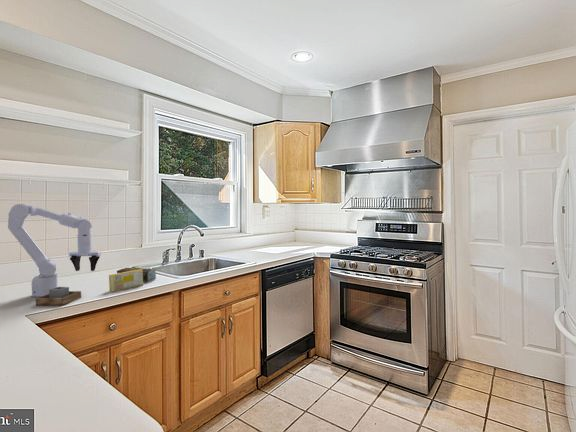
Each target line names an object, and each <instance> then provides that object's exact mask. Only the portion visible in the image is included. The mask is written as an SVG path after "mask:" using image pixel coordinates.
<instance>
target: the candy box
mask: <svg viewBox="0 0 576 432" xmlns="http://www.w3.org/2000/svg"><path fill="white" fill-rule="evenodd" d="M142 269H143V268H142ZM142 269H140V270H134V271H128V272H123V273H117V272H116V273H111V274H108V284H109V287H108V288H109V292H115V291H120V290H127V289H131V288H135V287H139V286H143V285H144V282H143V270H142Z"/></svg>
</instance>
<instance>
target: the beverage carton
mask: <svg viewBox="0 0 576 432" xmlns="http://www.w3.org/2000/svg"><path fill="white" fill-rule="evenodd" d="M140 269H142V270H143V283H149V282H152V281H155V280H156V277H157V275H156V273H157V270H156V269H155V268H139V267H124V268H121V269H118V270H116V274H117V273H123V272H128V271H134V270H140Z"/></svg>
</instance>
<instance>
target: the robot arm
mask: <svg viewBox="0 0 576 432" xmlns="http://www.w3.org/2000/svg"><path fill="white" fill-rule="evenodd" d="M29 216H30V217H35V216H39V217H43V218H47V219H51V220H54V221H57V222H58V223H59V225H60V226H61V225H62V226H65V227H67V228H71V229H77V235H76V236H77V251H70V252H69V253H68V257H69V260H70V261H71V264H73V267H74V270H75V272H78V271H80V270H81V269H80V268H81V257H88V259H89V264H90V271H91V272H94V271H95V270H96V267H97V264H98V261H99V260H100V256H101V251H92V234H91V232H92V231H91V229H92V227H93V225H92V223H91V222H90V221H89V220H87V218H86V219H85V218H83V217H81V216H76V215H72V213H71V212H68V213H66V212H64V213H62V214H59V213H56V212H54V211H50V210H48V209H45V208H43V207H39V206H32V205H27V204H24V203H17V204H15V205H13V206H12V207H11V208H10V210H9V213H8V220H7V221H8V222H7V229H8V231H10V233H11V234H12V235H13V236H14V238H15V239H16V240H17V242H19V244H20V245H21V246H22V247H23V249H24V250H25V251H26V253H27V254H28V255H29V256H30V258H31V259H32V260H33V262H34V263H35V265H36V267H37V268H38V271H39V274H37V275H35V276H34V277H33V278H32V281H31V295H30V297H36V298H39V297H42V296H44V295H47V294H49V290H50V289H53V288H56V287H59V286H58V273H56V271H57V266H56V263H55V262H54V261H53V260H51V259H49V258H48V257H47V256H46V255H45V253H44V252H43V251H42V250H41V248H40V247H39V246H38V245H37V243H36V242H35V241H34V239H33V238H32V237H31V236H30V234H29V233H28V232H27V231H26V229H25V228H24V223H25V220H26V218H27V217H29Z"/></svg>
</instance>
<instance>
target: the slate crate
mask: <svg viewBox="0 0 576 432" xmlns="http://www.w3.org/2000/svg"><path fill="white" fill-rule="evenodd" d="M69 291H70V287H69V286H58V287H56V288H53V289H50V290H49V298H64V297H67V296H69Z"/></svg>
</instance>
